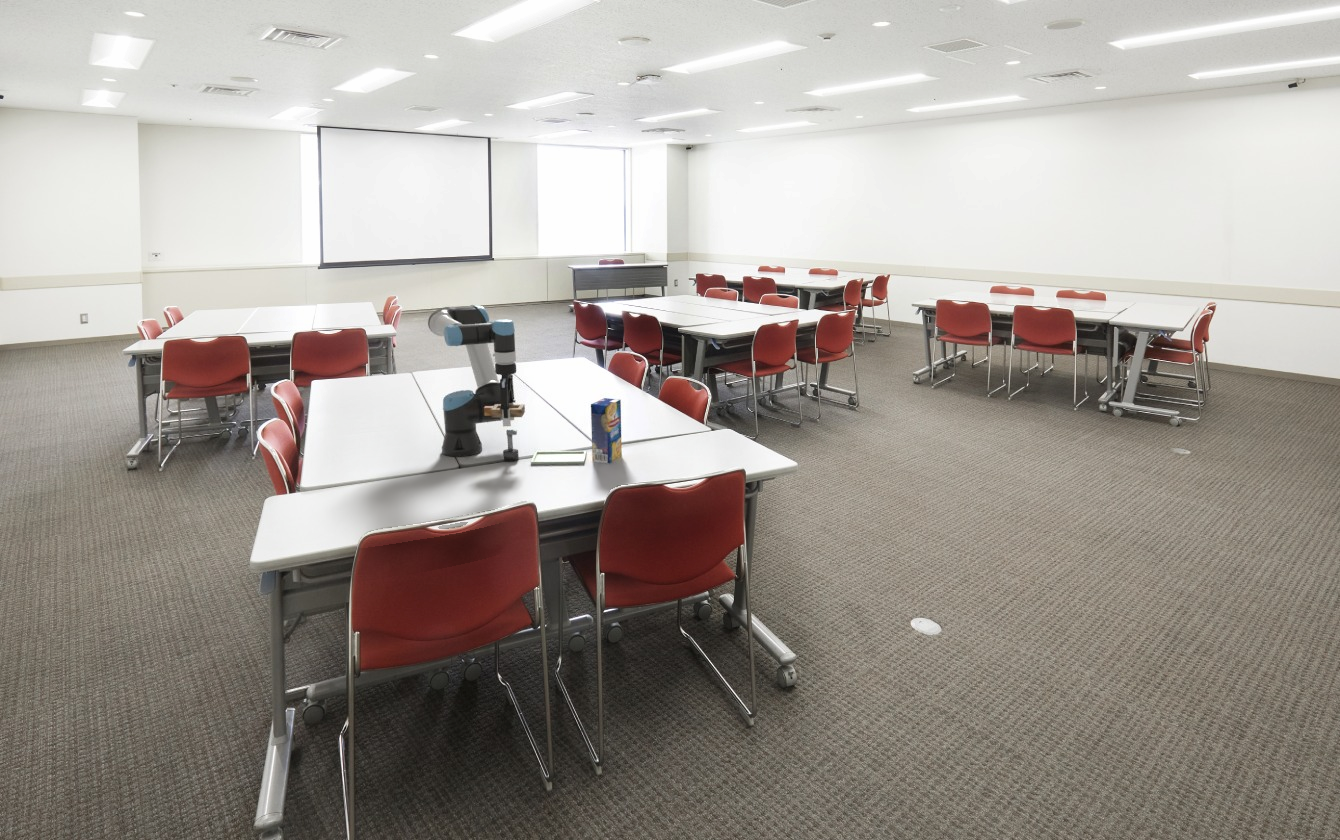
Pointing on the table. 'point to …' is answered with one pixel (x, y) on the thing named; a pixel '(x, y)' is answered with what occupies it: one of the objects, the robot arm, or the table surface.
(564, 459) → the tray
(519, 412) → the wooden rectangular frame
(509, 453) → the gray post stand
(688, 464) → the table surface
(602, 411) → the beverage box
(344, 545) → the table surface
